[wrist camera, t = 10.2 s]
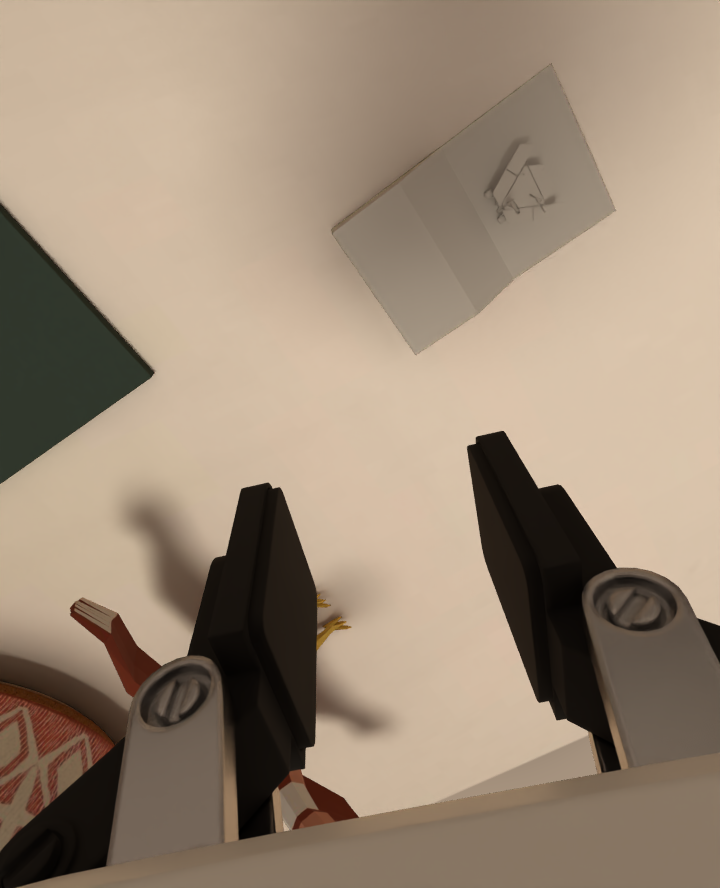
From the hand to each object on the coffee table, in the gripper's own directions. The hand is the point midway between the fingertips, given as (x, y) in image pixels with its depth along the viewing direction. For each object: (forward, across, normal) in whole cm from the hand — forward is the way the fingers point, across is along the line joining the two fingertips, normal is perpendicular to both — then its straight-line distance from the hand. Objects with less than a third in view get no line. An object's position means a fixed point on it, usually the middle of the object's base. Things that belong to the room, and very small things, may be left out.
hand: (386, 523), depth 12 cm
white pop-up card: (+21, -7, -2) cm, 22 cm away
